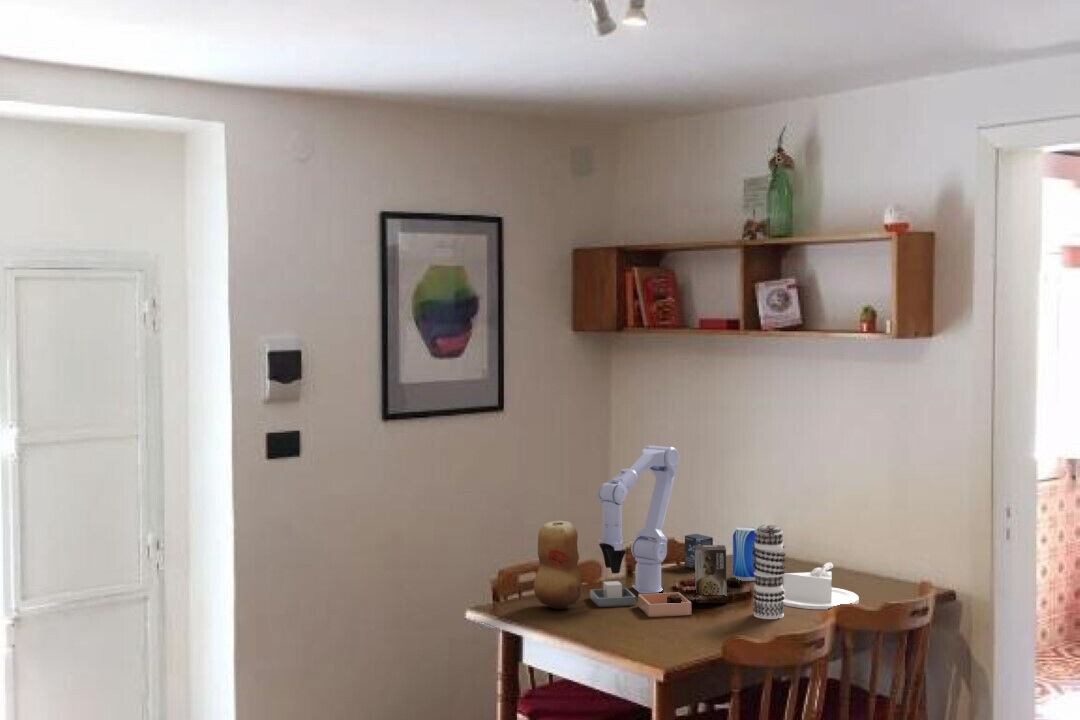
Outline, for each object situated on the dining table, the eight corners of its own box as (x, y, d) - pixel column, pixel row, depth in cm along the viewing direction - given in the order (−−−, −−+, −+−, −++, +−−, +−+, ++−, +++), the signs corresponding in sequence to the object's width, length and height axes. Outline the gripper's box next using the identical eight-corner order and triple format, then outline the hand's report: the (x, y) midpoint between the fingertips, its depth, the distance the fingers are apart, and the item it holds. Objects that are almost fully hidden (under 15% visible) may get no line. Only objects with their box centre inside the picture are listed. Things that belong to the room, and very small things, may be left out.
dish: (857, 591, 375) (857, 554, 374) (859, 612, 351) (859, 573, 350) (774, 588, 381) (774, 551, 380) (770, 608, 356) (771, 569, 356)
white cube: (603, 598, 366) (603, 581, 366) (618, 597, 367) (618, 581, 367) (606, 602, 362) (606, 585, 361) (622, 601, 362) (621, 584, 362)
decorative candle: (749, 611, 352) (749, 523, 351) (782, 611, 352) (782, 523, 351) (754, 619, 343) (754, 529, 342) (788, 619, 343) (788, 529, 341)
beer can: (740, 574, 398) (740, 524, 397) (764, 577, 393) (764, 527, 392) (728, 579, 391) (728, 529, 390) (752, 582, 386) (752, 531, 386)
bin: (638, 606, 359) (638, 594, 358) (679, 604, 361) (679, 592, 360) (649, 617, 347) (649, 604, 346) (691, 614, 349) (691, 602, 348)
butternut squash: (533, 614, 351) (532, 526, 350) (535, 602, 364) (534, 517, 363) (582, 614, 350) (581, 526, 349) (582, 602, 364) (582, 517, 362)
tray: (589, 598, 369) (589, 589, 369) (626, 596, 371) (626, 587, 371) (598, 607, 358) (598, 598, 358) (636, 605, 360) (636, 596, 360)
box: (684, 567, 410) (684, 535, 409) (697, 564, 413) (697, 533, 412) (700, 571, 403) (700, 539, 403) (713, 569, 407) (713, 536, 406)
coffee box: (725, 599, 366) (725, 544, 365) (727, 604, 360) (727, 549, 359) (694, 598, 367) (694, 544, 366) (695, 604, 361) (695, 548, 360)
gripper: (593, 520, 370) (593, 565, 370) (604, 529, 355) (604, 576, 356) (616, 519, 371) (616, 564, 371) (628, 528, 356) (628, 575, 357)
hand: (612, 570), depth 364 cm, fingers open, 7 cm apart
